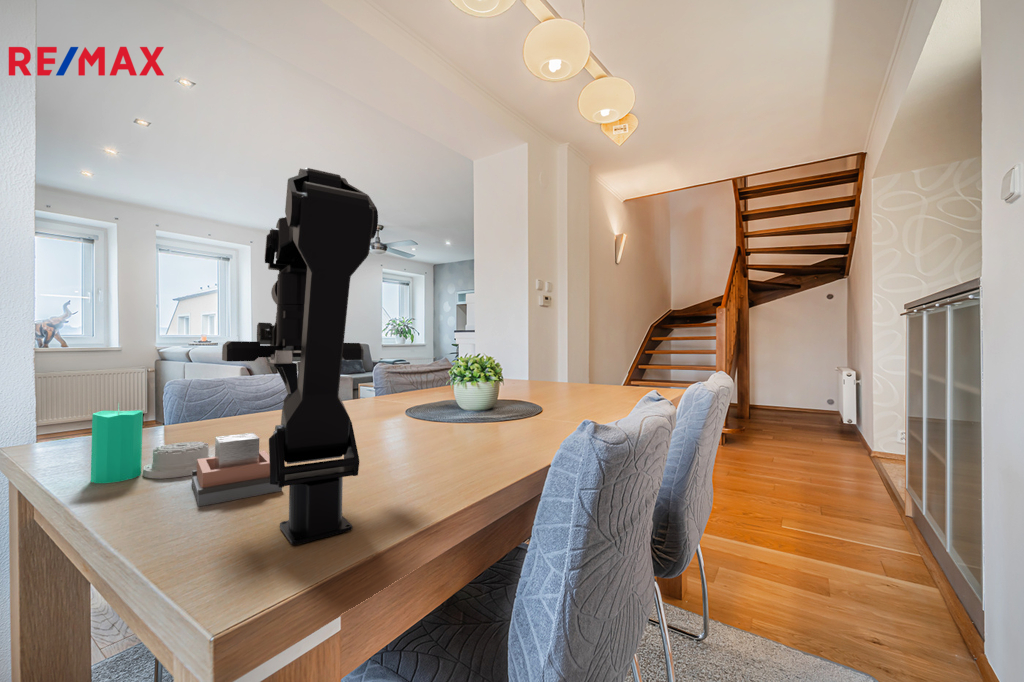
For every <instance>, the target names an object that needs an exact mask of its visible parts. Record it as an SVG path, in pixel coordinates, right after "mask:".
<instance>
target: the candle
mask: <svg viewBox="0 0 1024 682" xmlns="http://www.w3.org/2000/svg"><path fill="white" fill-rule="evenodd" d="M143 414H144V411H143V410H140V409H139V410H120V402H118V403H117V410H101V411H97V412H94V413H92V417H91V419H92V421H91V451H90V453H91V454H90V455H91V456H90V458H91V459H90V461H91V462H90V483H93V482H94V483H93V484H110V483H119V482H124V481H127V480H128V479H129V480H133V479H135V478H138V477H140V476H141V475H142V462H143V461H142V460H143V459H142V458H143V457H142V456H143V454H142V453H143V421H144V418H143V417H144V415H143ZM137 476H138V477H137ZM129 480H128V481H129Z"/></svg>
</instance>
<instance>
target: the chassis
mask: <svg viewBox="0 0 1024 682" xmlns="http://www.w3.org/2000/svg"><path fill="white" fill-rule="evenodd" d="M191 485H192V489H193V491H194V492H193V493H194V497H195V499H196V503H197V507H203V506H209V505H214V504H219V503H225V502H230V501H235V500H240V499H244V498H245V499H246V498H249V497H255V496H256V497H257V496H261V495H266V494H271V493H277V492H282V491H283V487H281V488H279V487H278V485H273V484H270V461H269V452H268V453H267V451H266V450H259V463H256V464H249V465H242V466H235V467H229V468H222V469H215V456H213V457H210V458H202V459H197V470H192V475H191Z"/></svg>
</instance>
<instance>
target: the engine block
mask: <svg viewBox="0 0 1024 682" xmlns="http://www.w3.org/2000/svg"><path fill="white" fill-rule="evenodd" d="M214 438H215V444H214V445H215V446H214V457H215V469H222V468H229V467H235V466H242V465H249V464H256V463H259V451H260V437H259V436H258V435H256V433H254V432H249V433H238V434H229V435H221V436H215V437H214Z"/></svg>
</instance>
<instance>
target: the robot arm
mask: <svg viewBox="0 0 1024 682" xmlns="http://www.w3.org/2000/svg"><path fill="white" fill-rule="evenodd" d="M286 184H287V185H286V198H285V206H284V207H285V208H284V213H285V216H281V217H280V218H278V220H277V223H276V226H275V228H273V227H272V228H271V229H269V233H268V234H266V238H265V250H264V264H268V265H267V266H268V267H267V269H268V270H272V271H278V273H277V280H276V281H275V283H274V284H273V285H272V287H271V299H272V300H273V302H274V303H275V305H276V313H275V314H276V316H275V322H274V324H273V323H271V322H258V323H257V325H256V341H247V340H245V341H244V340H242V341H241V340H239V341H238V340H237V341H236V340H233V341H231V340H227V341H226V342H225V343H224V344H222V349H221V351H222V352H221V360H222V361H224V362H255V361H256V360H257V359H259V358H267V359H268V360H269V361H268V362H266V364H267V366H268V367H273V368H274V369H276V370H277V372H278V374H279V376H280V378H281V379H282V382H283V385H284V387H285V389H286V390H285V391H286V392H287V395H286V396H285V397H284V399H283V405H282V408H281V417H280V424H277V425H275V427H274V430H273V433H272V435H271V436H270V437H269V438H268V454H269V461H270V484H273V485H278V487H279V488H281V487H282V488H284V487H287V486H289V487H288V488H289V491H288V493H289V495H288V499H289V500H288V520H285V521H284V520H283V521H280V523H279V528H280V530H281V532H282V533H283V534H284V536H285V537H286V539H287V540H288V541H289V543H290V544H291V545H293V546H298V545H302V544H305V543H309V542H312V541H316V540H320V539H324V538H327V537H332V536H335V535H339V534H342V533H347V532H350V531H352V530H353V524H352V523H350V521H348V519H346V518H345V517H344V516H343V481H344V479H343V478H345V477H352V476H353V477H356V476H358V475H359V471H360V470H359V469H360V456H359V452H358V451H359V450H358V447H357V442H356V437H355V431H354V427H353V422H352V420H351V417H350V414H349V413H348V410H347V409H346V407H345V404H344V402H343V401H342V399H341V397H340V395H339V392H340V384H341V383H340V382H341V375H342V373H341V372H342V363H343V361H362V360H364V352H365V351H364V347H363V346H362V344H361V343H360V342H345V333H346V323H347V315H348V305H349V303H348V302H349V295H350V294H349V293H350V285H351V277H352V276H353V275H354V273H355V272H356V271H357V270H358V268H360V266H361V265H362V264H363V263H364V261H365V260H366V259H367V258H368V257H369V253H370V249H371V242H372V240H373V239H374V238H375V236H376V234H377V230H378V223H379V214H378V213H379V212H378V211H379V210H378V209H377V206H376V205H375V203H374V201H373V200H372V198H371V196H370V195H369V194H367V193H365V191H362V190H360V189H358V187H356V186H354V185H351V184H349V183H348V180H347V179H346V178H345V177H342V176H341V174H337V173H332V172H328V171H322V170H319V169H314V168H310V167H305V168H299V170H298V175H295V176H292V177H289V178H288V179H287V183H286ZM274 262H275V263H274ZM293 358H300V361H297V362H293ZM342 457H343V458H342ZM322 460H323V461H322ZM316 461H317V462H316ZM307 462H308V463H307ZM299 463H300V464H299ZM286 464H287V465H286ZM292 464H293V465H292ZM285 465H286V466H285Z"/></svg>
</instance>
